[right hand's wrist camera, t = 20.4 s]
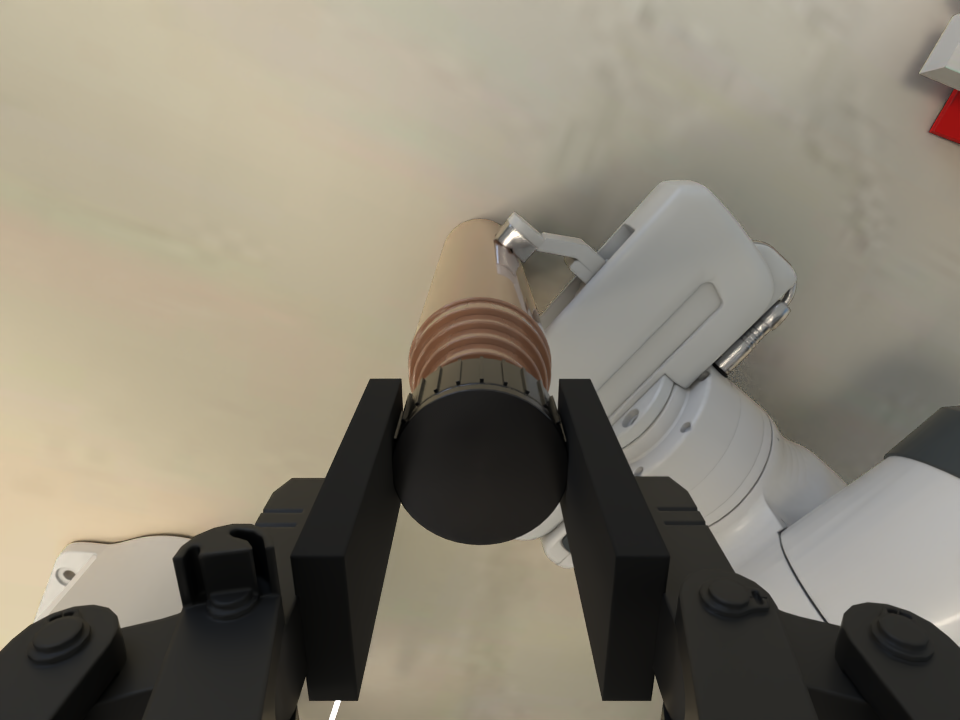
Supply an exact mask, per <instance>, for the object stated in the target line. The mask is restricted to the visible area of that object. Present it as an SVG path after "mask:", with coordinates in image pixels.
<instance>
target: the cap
mask: <svg viewBox="0 0 960 720" xmlns="http://www.w3.org/2000/svg"><path fill="white" fill-rule="evenodd" d="M394 442H395V445H394V448H393V453H392V470H393V484H394V488H395V491H396V493H397V495H398V498H399V500H400V501H401V503H402V505H403V506H404V508H405V509H406V510H407V512H408V513H409V514H410V515H411V516H412V517H413V518H414V519H415V520H416V521H417V522H418V523H419V524H420V525H422V526H423V527H424V528H426V529H427V530H429V531H430V532H432V533H434V534H436V535H438V536H440V537H443V538H445V539H448V540H451V541H454V542H458V543H464V544H471V545H490V544H497V543H502V542H506V541H510V540H513V539H516V538H518V537H521V536H523V535H525V534H527V533H528V532H530V531H532V530H533V529H535V528H536V527H538V526H539V525H540V524H542V523H543V522H544V521H545V520H546V519H547V518H548V517H549V516H550V515H551V514H552V512H553V511H554V510H555V509H556V507H557V506H558V504H559V503H560V501H561V499H562V497H563V495H564V492H565V490H566V486H567V477H568V459H569V456H568V450H567V446H566V438H565V434H564V431H563V427H562V423H561V420H560V416H559V414H558V410H557V407H556V403H555V400H554V397H553V395H552V396H550V395H549V393H548V392H547V390H546V389H545V388H544V387H543V384H542V381H541V380H540V379H539V380H537V379H536V378H534V377H533V376H532V375H531V374H529V373H528V372H526V369H525V368H524V367H522V368H519V367H517V366H515V365H513V364H511V363H508V362H506V361H505V360H504V359H502V361H500V360H495V359H488V358H484V357H483V356H480V358H473V359H466V360H462V359H461V358H460V359H458V361H456V362H453V363H450V364H448V365H446V366H443V367H441V366H439V367H437V370H436V371H434V372H433V373H431V374H430V375H429V376H427V377H426V378H425V379H424V378H422V379H421V380H420V384H419V385H418V386H417V387H416V389H415V390H414V391H413V393H412V394H410V393H409V395H408V397H407V401H406V404H405V408H404V411H401V415H400V418H399V422H398V425H397V429H396V432H395V436H394Z"/></svg>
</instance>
